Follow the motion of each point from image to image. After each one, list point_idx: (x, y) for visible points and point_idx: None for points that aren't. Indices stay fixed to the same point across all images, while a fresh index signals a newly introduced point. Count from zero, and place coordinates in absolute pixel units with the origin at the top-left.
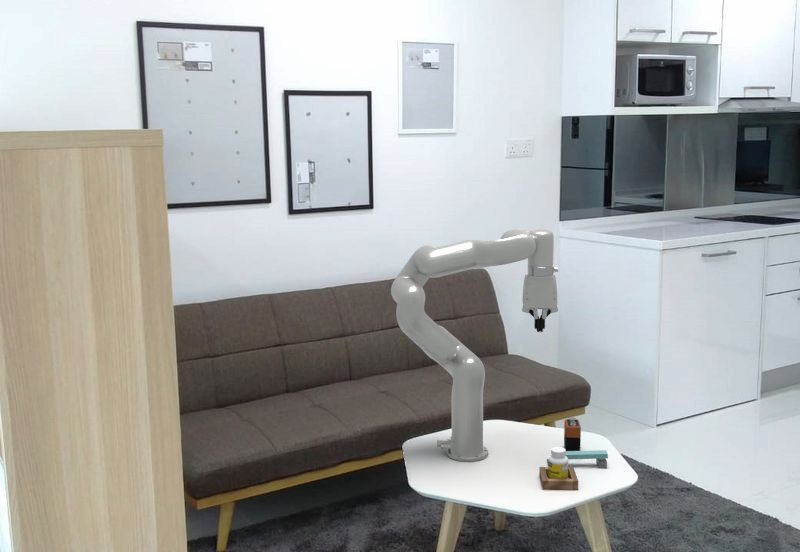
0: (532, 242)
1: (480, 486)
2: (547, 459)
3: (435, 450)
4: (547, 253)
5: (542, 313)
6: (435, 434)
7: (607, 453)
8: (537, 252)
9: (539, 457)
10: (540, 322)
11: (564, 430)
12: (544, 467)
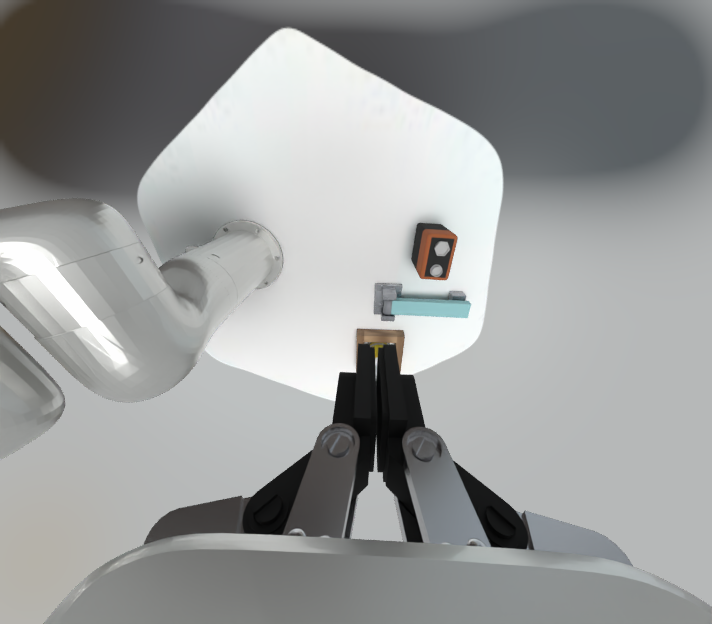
0: None
1: (281, 355)
2: (376, 286)
3: (193, 238)
4: None
5: (414, 480)
6: (166, 150)
7: (467, 316)
8: None
9: (365, 269)
10: (377, 449)
11: (421, 237)
12: (363, 337)
